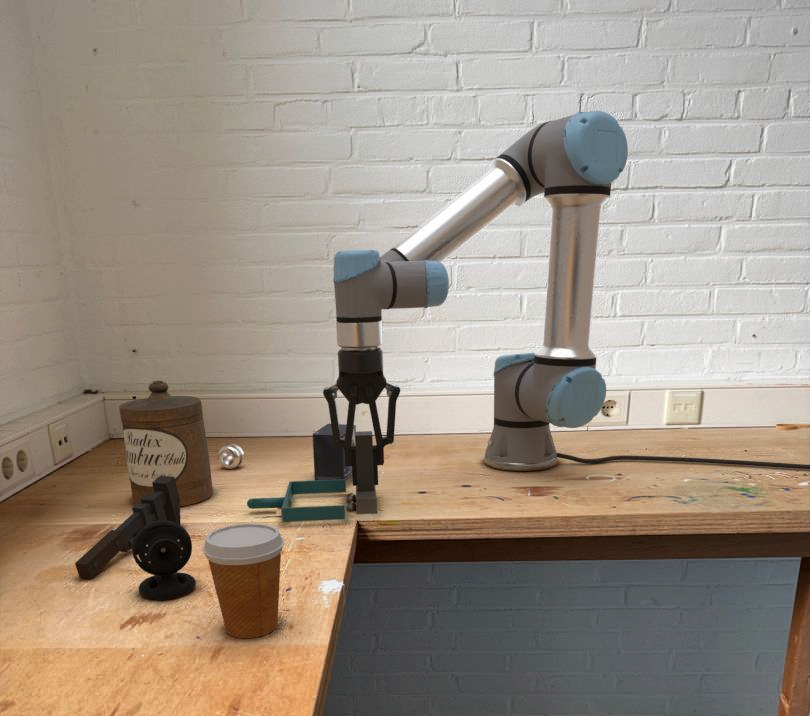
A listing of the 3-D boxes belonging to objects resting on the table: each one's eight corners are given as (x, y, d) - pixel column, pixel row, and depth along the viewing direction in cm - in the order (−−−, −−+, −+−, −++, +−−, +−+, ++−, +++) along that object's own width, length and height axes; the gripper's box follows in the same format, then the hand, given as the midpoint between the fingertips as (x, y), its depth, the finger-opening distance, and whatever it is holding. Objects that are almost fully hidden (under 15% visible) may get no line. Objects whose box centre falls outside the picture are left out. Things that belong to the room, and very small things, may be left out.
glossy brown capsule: (357, 500, 142) (347, 499, 141) (357, 507, 138) (346, 506, 138) (355, 510, 142) (345, 508, 142) (355, 517, 138) (345, 515, 138)
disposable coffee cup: (217, 613, 102) (207, 524, 98) (292, 608, 103) (285, 520, 99) (206, 647, 93) (194, 551, 89) (288, 642, 94) (280, 546, 90)
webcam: (141, 605, 105) (131, 533, 101) (135, 585, 111) (125, 517, 108) (201, 594, 108) (193, 524, 104) (192, 575, 114) (184, 509, 111)
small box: (345, 487, 156) (342, 434, 152) (313, 486, 157) (310, 433, 153) (359, 473, 165) (357, 423, 162) (329, 472, 167) (326, 422, 163)
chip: (357, 493, 146) (347, 491, 146) (357, 499, 142) (347, 497, 142) (355, 502, 147) (345, 500, 147) (355, 509, 143) (345, 507, 143)
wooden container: (116, 505, 148) (97, 386, 141) (164, 484, 161) (150, 374, 154) (183, 511, 143) (168, 388, 136) (228, 489, 156) (216, 376, 149)
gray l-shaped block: (375, 495, 148) (372, 426, 144) (377, 514, 137) (374, 440, 133) (356, 495, 148) (353, 426, 144) (356, 515, 137) (353, 441, 132)
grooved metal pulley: (245, 467, 173) (243, 444, 171) (238, 470, 170) (236, 447, 169) (225, 465, 174) (223, 443, 173) (218, 469, 172) (215, 446, 170)
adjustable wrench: (86, 604, 117) (171, 519, 137) (102, 605, 116) (185, 520, 137) (70, 556, 113) (159, 475, 133) (86, 557, 112) (174, 476, 132)
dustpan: (346, 495, 151) (345, 479, 149) (345, 524, 135) (344, 505, 133) (253, 499, 150) (252, 482, 149) (241, 528, 134) (239, 510, 133)
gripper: (406, 344, 137) (409, 476, 145) (312, 346, 136) (320, 479, 144) (409, 348, 130) (412, 487, 138) (310, 351, 129) (319, 491, 137)
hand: (365, 483), depth 141 cm, fingers closed on gray l-shaped block, 3 cm apart
